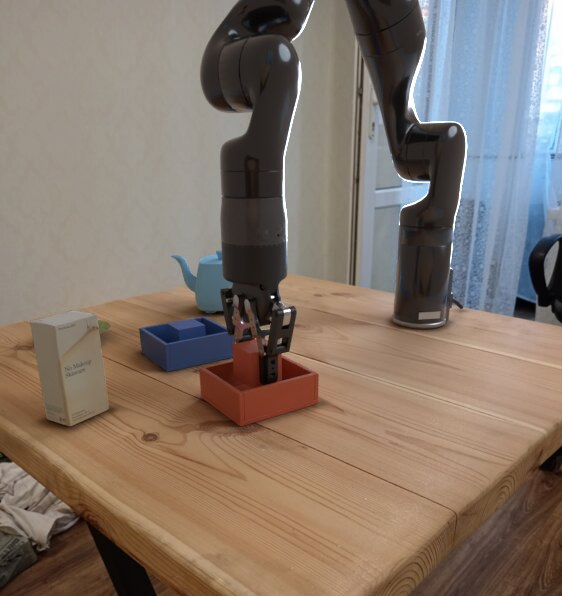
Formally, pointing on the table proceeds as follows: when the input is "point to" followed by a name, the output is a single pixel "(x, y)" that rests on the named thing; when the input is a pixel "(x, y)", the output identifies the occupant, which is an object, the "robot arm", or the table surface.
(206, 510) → the table surface
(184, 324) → the blue block
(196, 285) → the teapot
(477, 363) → the table surface
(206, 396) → the red bin
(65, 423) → the cosmetic box
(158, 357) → the blue bin
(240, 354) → the red block
